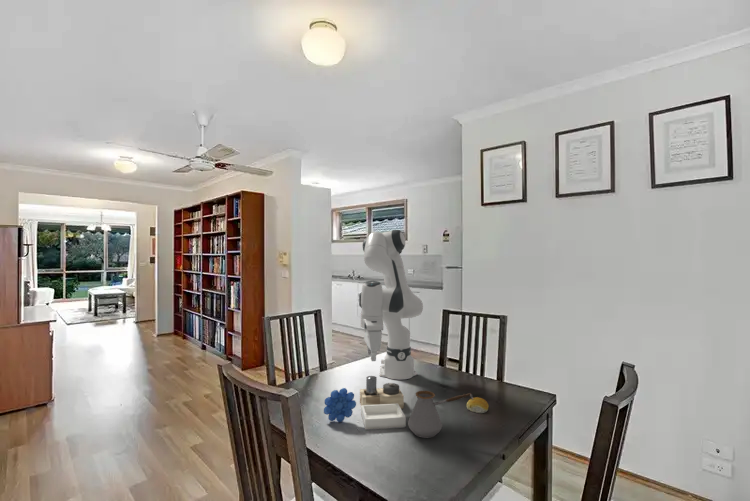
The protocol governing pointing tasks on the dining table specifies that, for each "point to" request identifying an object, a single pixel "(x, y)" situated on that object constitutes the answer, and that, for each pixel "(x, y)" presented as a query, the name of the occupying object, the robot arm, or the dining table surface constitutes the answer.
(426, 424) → the coffee pot
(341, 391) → the blue lobed round piece
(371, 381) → the pin
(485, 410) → the bread roll
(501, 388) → the dining table surface
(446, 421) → the dining table surface
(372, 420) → the tray
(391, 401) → the plate
